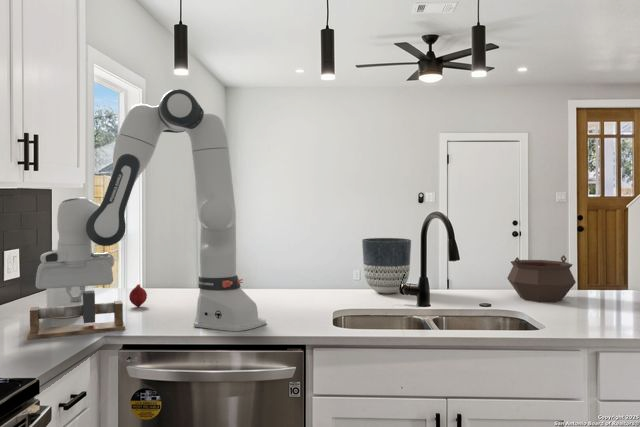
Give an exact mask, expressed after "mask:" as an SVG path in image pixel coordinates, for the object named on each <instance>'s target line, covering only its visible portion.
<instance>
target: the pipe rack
mask: <svg viewBox="0 0 640 427" xmlns="http://www.w3.org/2000/svg"><path fill="white" fill-rule="evenodd" d="M123 306H124V304H123V301H122V300H114V301H113V302H105V303H104V302H103V303H95V315H104V314H113V315H114V318H113V320H114V321H108V322H107V321H106V322H94V323H83V324H74V325H62V326H53V327H52V326H51V327H50V326H49V327H40V320H43V319H54V318H58V317H70V316H77V317H81V316H82V317H83V315H84V313H83V305H74V306H61V307H48V308H47V307H39V306H31V307H30V308H29V330H28V333H27V340H33V339H34V340H35V339H43V338H54V337H64V336H65V337H66V336H74V335H75V336H78V335H86V334H96V333H97V334H98V333H107V332H108V333H109V332H118V331H125V330H126V325H125V322H124V317H123V316H124V314H123V313H124V311H123V310H124V309H123ZM58 319H59V318H58Z"/></svg>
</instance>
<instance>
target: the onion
mask: <svg viewBox="0 0 640 427" xmlns="http://www.w3.org/2000/svg"><path fill="white" fill-rule="evenodd" d="M147 298H148V294H147V291H146V290H145V289H144V288H143V287H141V284H140V283H138V284H136V286H135V287H134V288H133V289H132V290H131V291H130V293H129V299H128V300H129V301H130V303H131V304H132V305H134V306H135V307H137V308H139V307H141V306H142V305H143V304H145V302H146V300H147Z"/></svg>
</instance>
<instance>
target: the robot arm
mask: <svg viewBox="0 0 640 427" xmlns="http://www.w3.org/2000/svg"><path fill="white" fill-rule="evenodd" d="M184 132H186V133H187V135H188V137H189V140H190V144H191V152H192V153H191V155H192V161H193V171H194V178H195V179H194V180H195V182H194V183H195V194H196V206H197V207H196V208H197V217H198V221H199V222H200V228H199V229H200V231H199V234H200V236H199V239H200V240H199V275H198V280H197V283H198V284H197V285H198V288H199V293H198V297H197V303H196V304H197V305H196V314H195V320H194V323H193V327H194V328H202V329H203V328H205V329H210V330H211V329H212V330H221V331H230V332H240V331H247V330H252V329H256V328H258V327H261V326H264V325H265V324H267V321H266V319H264V318H260V317H259V313H258V312H259V311H258V306H257V303H256V301H254V300H253V299H252V298H251V297H250V296H249V295H248V294H247V293H246V292H245V291H244V290H243V289H242V288H241V284H242V283H244V279H243V278H239V276H238V274H237V224H236V223H237V221H236V220H237V217H236V216H237V212H236V203H235V195H234V187H233V186H234V185H233V176H232V168H231V159H230V151H229V150H230V149H229V144H228V143H229V142H228V138H227V133H226V128H225V126H224V123H223V120H222V119H221V118H220V117H219V116H218V115H216V114H212V113H205V110H204V109H203V108H202V106H201V105H200V103H198V101H197V99H196V98H195V97H194V96H193V94H192V93H190V92H189V91H187V90H186V89H179V88H175V89H171V90H169V91H167V92H166V93H164V94H163V96H162V97H161V100H160V103H159V104H158V105H156V106H151V105H149V104H145V103H144V104H143V103H139V104H135V105H133V106H132V107H131V108H130V110H129V111H128V112H127V115H126V116H125V118H124V119H123V122H122V124H121V126H120V129H119V132H118V133H117V137H116V140H115V144H114V148H113V154H112V172H111V176H110V179H109V182H108V185H107V187H106V191H105V194H104V197H103V199H102V201H101V203H100V204H99V203H97V202H94V201H93V200H91V199H89V198H88V197H85V196H78V197H73V198H68V199H65V200H63V201H61V202H60V203H59V205H58V210H57V215H56V216H57V219H56V222H57V223H56V225H57V226H56V228H57V233H58V241H57V249H52V250H50V251H48V252H43V253H42V254H41V255H40V257H39V258H40V262H41V263H40V264H39V265H38V266H37V271H36V276H35V287H36V288H37V289H38V290H46V289H50V288H65V287H66V292H67V294H68V295H69V296H70V303H76V302H81V296H82V295H83V293H84V291H86V287H89V286H90V287H91V286H92V287H93V286H105V285H112V283H113V282H114V274H113V267H114V264H115V258H114V256H113V255H112V254H110V253H109V252H102V253H101V252H96V253H95V252H93V253H92V251H93V250H92V242H93V243H94V244H96V245H99V246H102V247H110V246H113V245H116V244H117V243H119V242H120V241H121V240H122V239H123V237H124V236H125V234H126V225H127V224H126V217H125V213H126V208H127V204H128V203H129V199H130V197H131V193H132V192H133V188H134V186H135V183H136V181H137V180H138V179H139V177H140V175H141V174H142V173H143V172H144V171H145V169H146V168H147V167H148V165H149V163H150V162H151V159H152V158H153V155H154V153H155V151H156V147H157V146H158V145H157V144H158V142H159V139H160V136H161V135H162V133H174V134H175V133H177V134H178V133H179V134H180V133H184ZM71 287H80V290H81V292H80V294H79V295H77V296H73V295H72V294H71V292H70V291H71Z"/></svg>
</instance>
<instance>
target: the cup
mask: <svg viewBox="0 0 640 427" xmlns="http://www.w3.org/2000/svg"><path fill="white" fill-rule="evenodd" d="M45 290H46V308H48V307H61V306H74V305H83V295H82V296H81V302H76V303H70V296H69V295H68V294H67V292H66V287H65V288H50V289H45ZM70 292H71V294H72V295H73V296H77V295H79V294H80V292H81V290H80V287H71V291H70ZM77 317H78V316H70V317H58V318H53V319H57V320H58V319H70V318H77Z"/></svg>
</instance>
